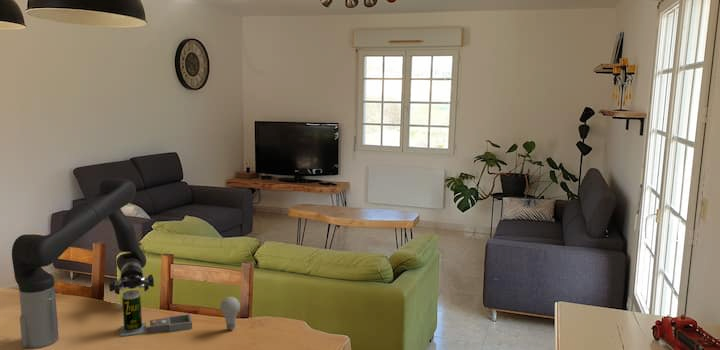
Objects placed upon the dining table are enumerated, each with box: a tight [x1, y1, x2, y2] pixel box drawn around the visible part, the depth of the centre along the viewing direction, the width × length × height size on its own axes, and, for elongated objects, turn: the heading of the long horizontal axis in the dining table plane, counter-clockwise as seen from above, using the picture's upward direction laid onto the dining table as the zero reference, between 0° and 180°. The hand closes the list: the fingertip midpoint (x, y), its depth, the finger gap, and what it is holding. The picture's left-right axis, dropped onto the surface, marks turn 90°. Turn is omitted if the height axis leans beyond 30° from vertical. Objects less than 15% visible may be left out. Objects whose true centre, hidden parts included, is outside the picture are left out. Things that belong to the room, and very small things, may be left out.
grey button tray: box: [149, 313, 193, 334], centre depth 179 cm, size 12×7×3 cm, turn 113°
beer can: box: [121, 289, 143, 332], centre depth 176 cm, size 5×5×12 cm
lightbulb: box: [220, 296, 241, 331], centre depth 177 cm, size 6×6×11 cm
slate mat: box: [120, 322, 148, 338], centre depth 177 cm, size 8×8×1 cm
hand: (132, 290), depth 186 cm, fingers open, 8 cm apart
